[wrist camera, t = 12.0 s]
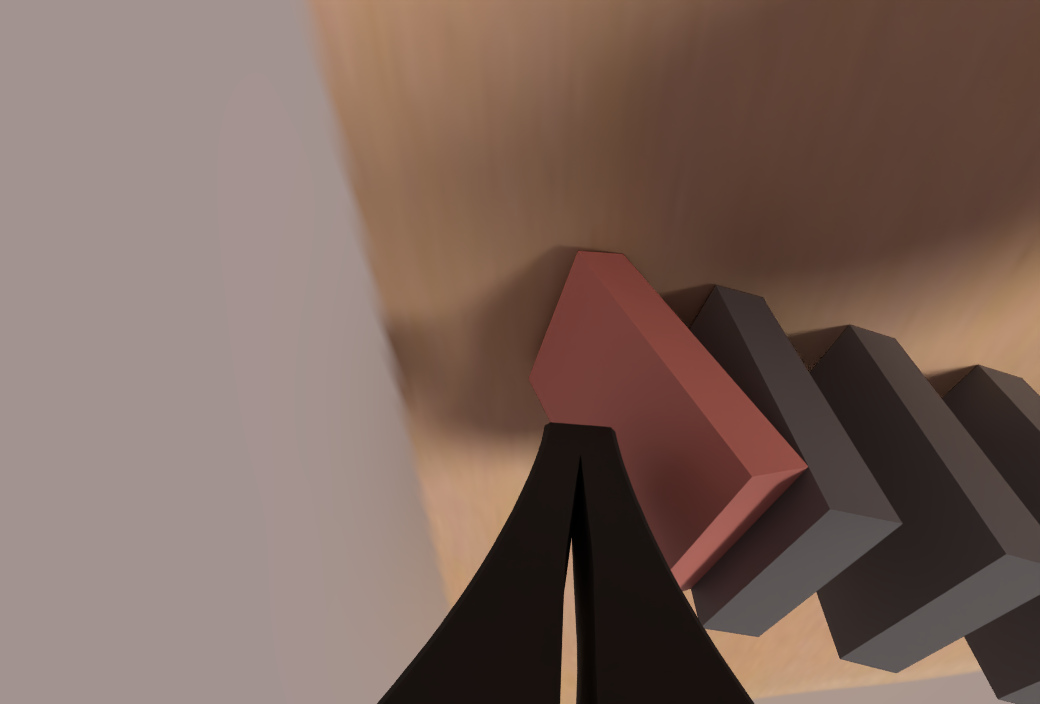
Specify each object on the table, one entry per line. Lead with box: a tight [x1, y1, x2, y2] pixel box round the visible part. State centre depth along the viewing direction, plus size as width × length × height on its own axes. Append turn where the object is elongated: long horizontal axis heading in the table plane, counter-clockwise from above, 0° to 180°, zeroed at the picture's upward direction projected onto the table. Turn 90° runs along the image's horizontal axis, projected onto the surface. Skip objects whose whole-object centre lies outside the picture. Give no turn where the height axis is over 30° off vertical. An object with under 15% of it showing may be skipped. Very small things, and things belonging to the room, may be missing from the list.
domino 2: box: [810, 325, 1040, 673], centre depth 13 cm, size 1×4×7 cm, turn 164°
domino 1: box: [689, 285, 903, 637], centre depth 13 cm, size 1×4×7 cm, turn 164°
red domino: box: [529, 251, 808, 591], centre depth 13 cm, size 1×4×7 cm, turn 164°
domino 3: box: [942, 365, 1040, 704], centre depth 14 cm, size 1×4×7 cm, turn 164°
